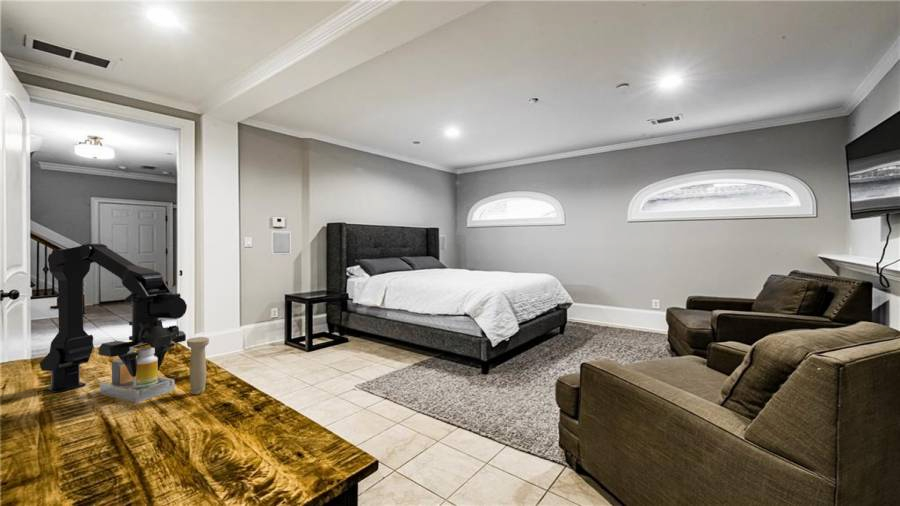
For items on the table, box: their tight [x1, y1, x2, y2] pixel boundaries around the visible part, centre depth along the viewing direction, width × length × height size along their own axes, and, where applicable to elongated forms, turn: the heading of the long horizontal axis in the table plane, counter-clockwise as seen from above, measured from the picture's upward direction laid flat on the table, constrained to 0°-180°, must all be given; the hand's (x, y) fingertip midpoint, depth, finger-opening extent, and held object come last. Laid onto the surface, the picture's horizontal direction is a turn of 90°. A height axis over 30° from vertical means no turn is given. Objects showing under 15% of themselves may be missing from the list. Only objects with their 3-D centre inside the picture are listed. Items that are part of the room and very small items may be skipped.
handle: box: [186, 336, 210, 395], centre depth 106 cm, size 5×6×15 cm
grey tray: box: [99, 356, 176, 404], centre depth 106 cm, size 16×10×8 cm, turn 69°
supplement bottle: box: [133, 347, 159, 387], centre depth 105 cm, size 5×5×10 cm
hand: (145, 373), depth 105 cm, fingers closed on supplement bottle, 5 cm apart
